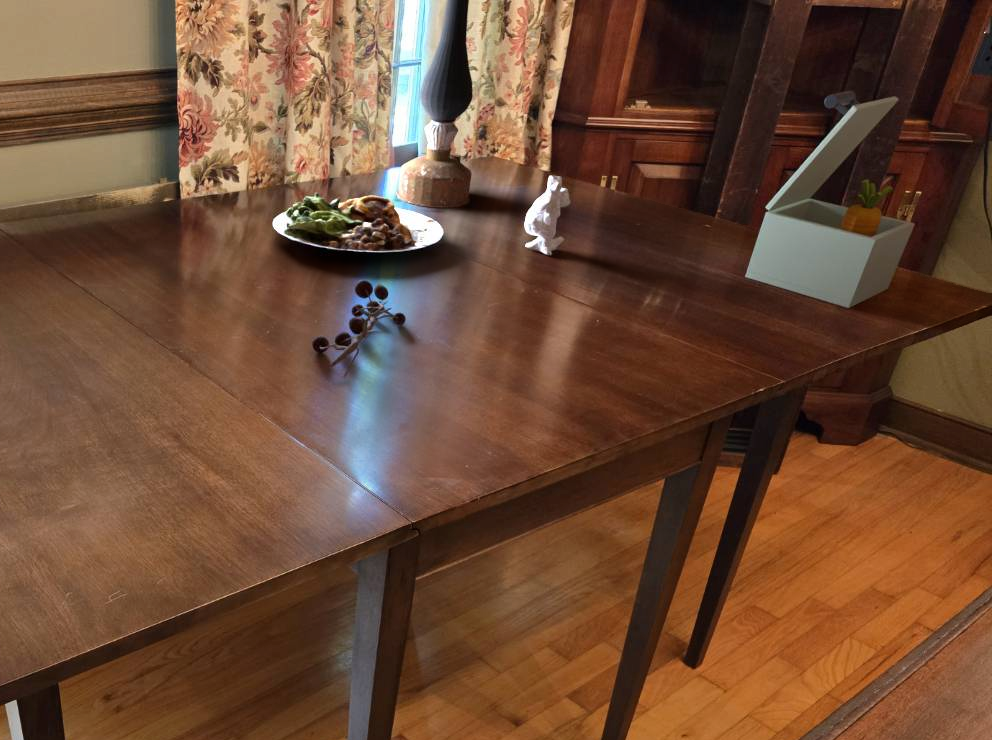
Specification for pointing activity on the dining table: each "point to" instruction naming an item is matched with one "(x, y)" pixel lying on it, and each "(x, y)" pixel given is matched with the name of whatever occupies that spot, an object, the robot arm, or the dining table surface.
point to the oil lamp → (442, 120)
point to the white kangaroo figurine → (547, 216)
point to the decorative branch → (359, 323)
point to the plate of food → (357, 225)
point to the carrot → (865, 211)
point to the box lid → (833, 146)
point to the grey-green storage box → (826, 253)
